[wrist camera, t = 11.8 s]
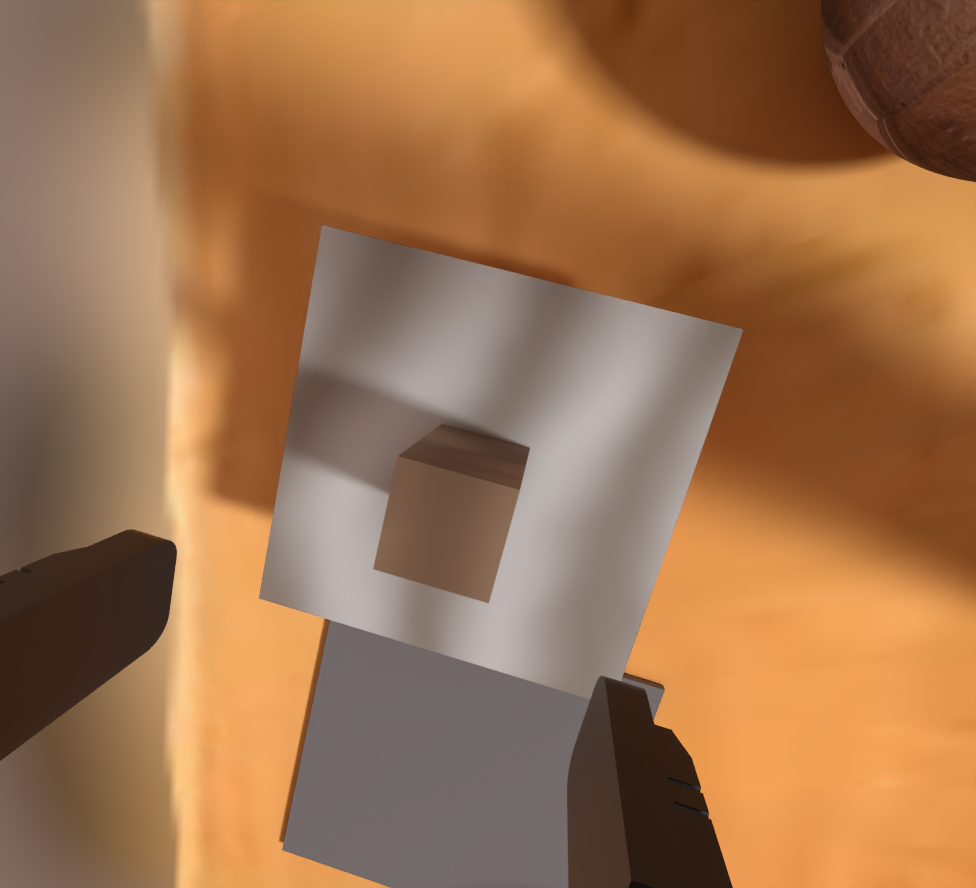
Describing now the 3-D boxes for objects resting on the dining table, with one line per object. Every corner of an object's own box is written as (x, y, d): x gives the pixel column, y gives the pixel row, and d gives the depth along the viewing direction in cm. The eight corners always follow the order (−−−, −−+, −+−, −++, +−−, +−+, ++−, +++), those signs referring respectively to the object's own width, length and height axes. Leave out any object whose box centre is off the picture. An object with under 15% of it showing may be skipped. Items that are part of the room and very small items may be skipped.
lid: (736, 329, 20) (828, 323, 13) (610, 693, 23) (632, 835, 16) (330, 229, 21) (225, 177, 14) (268, 589, 24) (160, 683, 18)
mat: (663, 685, 29) (664, 690, 29) (567, 941, 33) (567, 948, 33) (339, 587, 30) (336, 590, 30) (285, 844, 35) (282, 849, 34)
